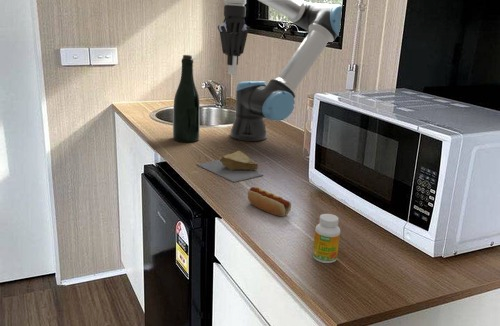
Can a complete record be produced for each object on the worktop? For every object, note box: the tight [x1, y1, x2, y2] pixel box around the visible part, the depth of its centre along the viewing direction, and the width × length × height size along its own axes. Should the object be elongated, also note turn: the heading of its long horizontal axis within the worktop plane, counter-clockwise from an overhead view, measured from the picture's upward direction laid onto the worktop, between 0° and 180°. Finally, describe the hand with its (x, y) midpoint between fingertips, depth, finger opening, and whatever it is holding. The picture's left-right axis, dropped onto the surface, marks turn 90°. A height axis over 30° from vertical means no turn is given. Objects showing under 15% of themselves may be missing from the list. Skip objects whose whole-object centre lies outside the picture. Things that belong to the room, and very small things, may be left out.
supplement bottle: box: [312, 213, 341, 264], centre depth 106 cm, size 5×5×10 cm
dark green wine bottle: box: [172, 54, 201, 143], centre depth 189 cm, size 10×10×33 cm
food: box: [247, 186, 292, 217], centre depth 131 cm, size 14×6×5 cm, turn 44°
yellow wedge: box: [219, 150, 259, 171], centre depth 163 cm, size 11×9×10 cm
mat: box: [196, 159, 264, 183], centre depth 161 cm, size 12×20×1 cm, turn 41°
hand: (232, 74), depth 174 cm, fingers closed
